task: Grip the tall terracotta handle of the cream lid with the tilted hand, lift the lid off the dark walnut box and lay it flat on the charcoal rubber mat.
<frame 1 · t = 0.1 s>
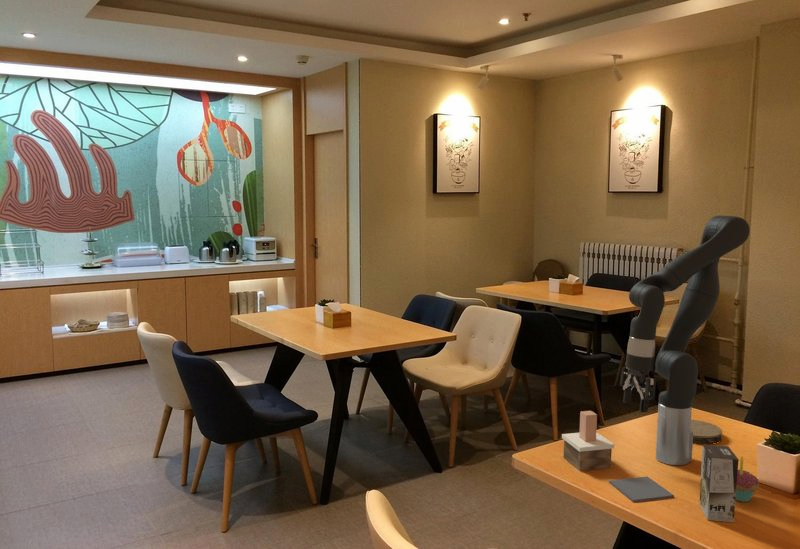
hand: (634, 407, 197), 17 cm above the table, tool pointing down, fingers open, 8 cm apart
box: (586, 462, 201), on the table
lid: (587, 446, 200), point 5 cm above the table, touching box
coffee box: (716, 513, 170), on the table
cupcake: (739, 498, 178), on the table
mat: (640, 489, 183), on the table
tin can: (694, 436, 223), on the table
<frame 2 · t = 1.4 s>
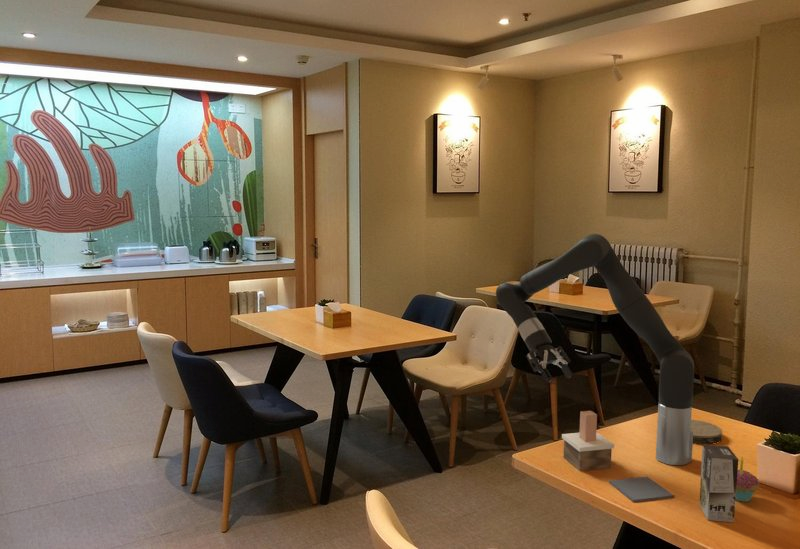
hand: (560, 379, 207), 23 cm above the table, tool tilted 45°, fingers open, 8 cm apart
nothing on the table moved.
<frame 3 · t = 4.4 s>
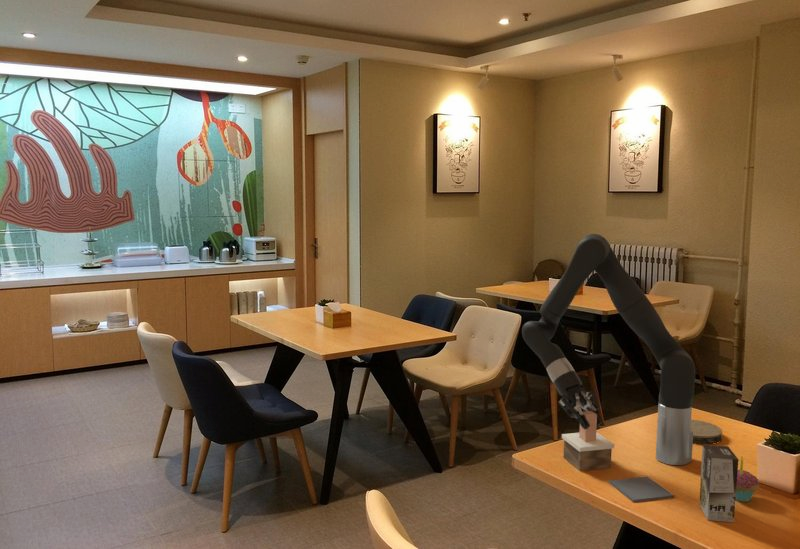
hand: (593, 426, 198), 12 cm above the table, tool tilted 45°, fingers closed on lid, 4 cm apart
lid: (587, 446, 200), point 5 cm above the table, touching box, gripper
everything else where it was.
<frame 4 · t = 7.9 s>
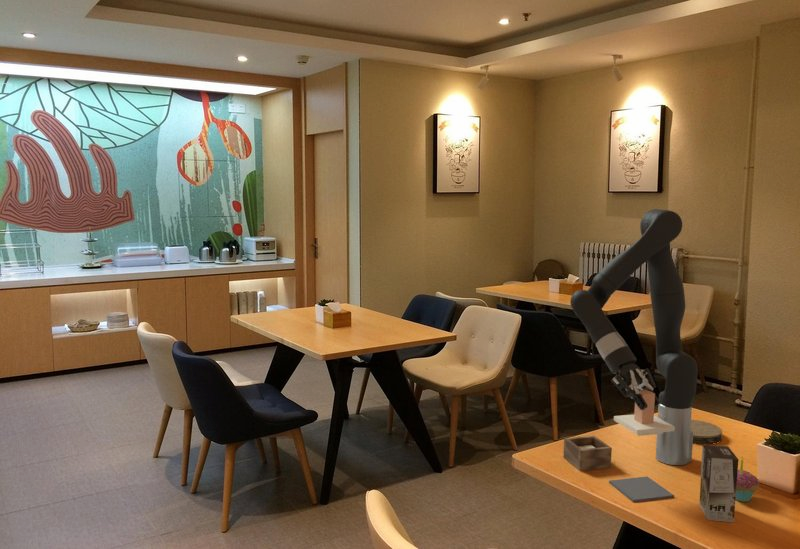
hand: (650, 406, 178), 24 cm above the table, tool tilted 45°, fingers closed on lid, 4 cm apart
lid: (643, 429, 180), point 17 cm above the table, touching gripper
everything else where it was.
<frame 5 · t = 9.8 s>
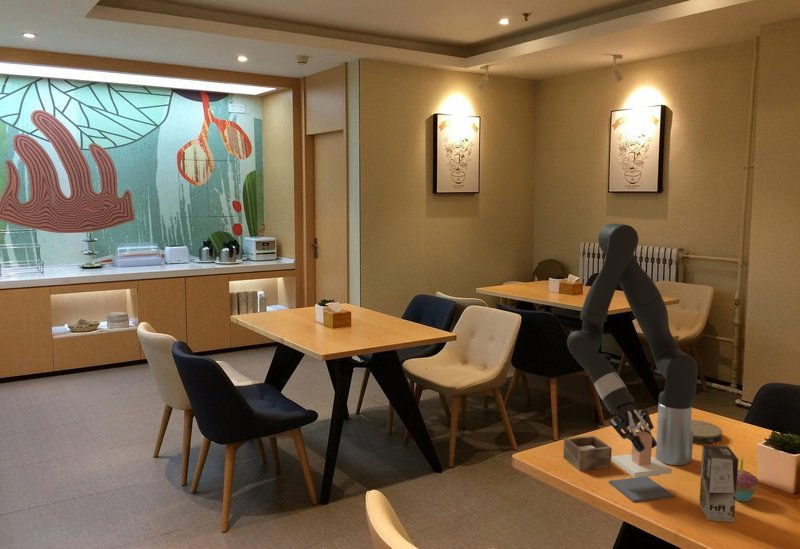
hand: (648, 448, 179), 12 cm above the table, tool tilted 45°, fingers closed on lid, 4 cm apart
lid: (640, 471, 182), point 5 cm above the table, touching gripper
everything else where it was.
when the fingers open (9 cm above the table, at t = 11.4 s): lid drops 1 cm, resting on mat.
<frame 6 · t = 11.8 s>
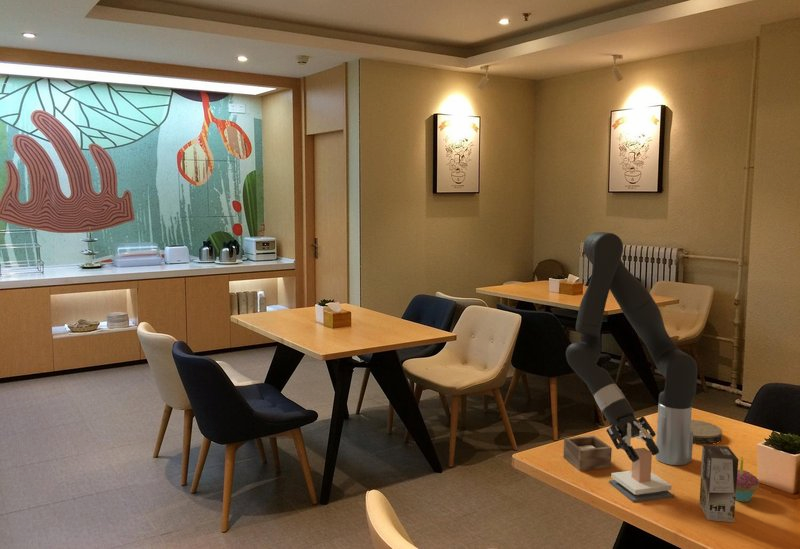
hand: (646, 457, 180), 10 cm above the table, tool tilted 45°, fingers open, 8 cm apart
lid: (640, 487, 183), point 1 cm above the table, touching mat
everything else where it was.
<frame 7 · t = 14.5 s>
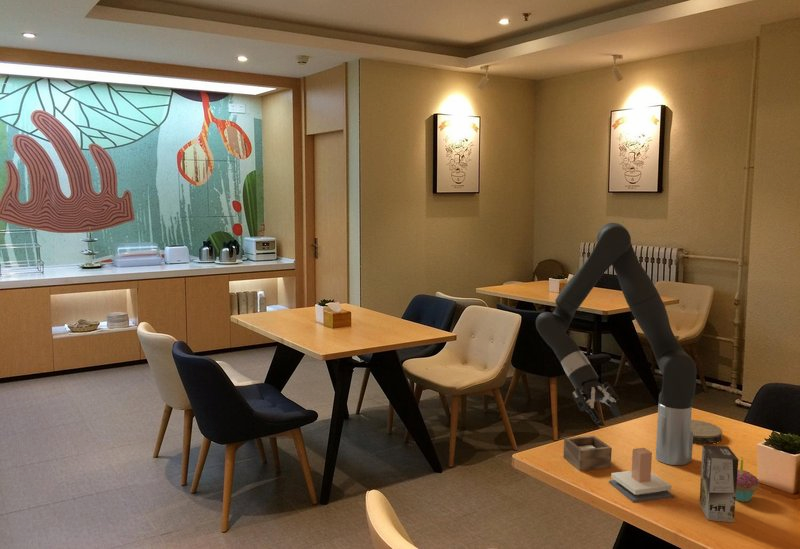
hand: (609, 419, 190), 16 cm above the table, tool tilted 45°, fingers open, 8 cm apart
nothing on the table moved.
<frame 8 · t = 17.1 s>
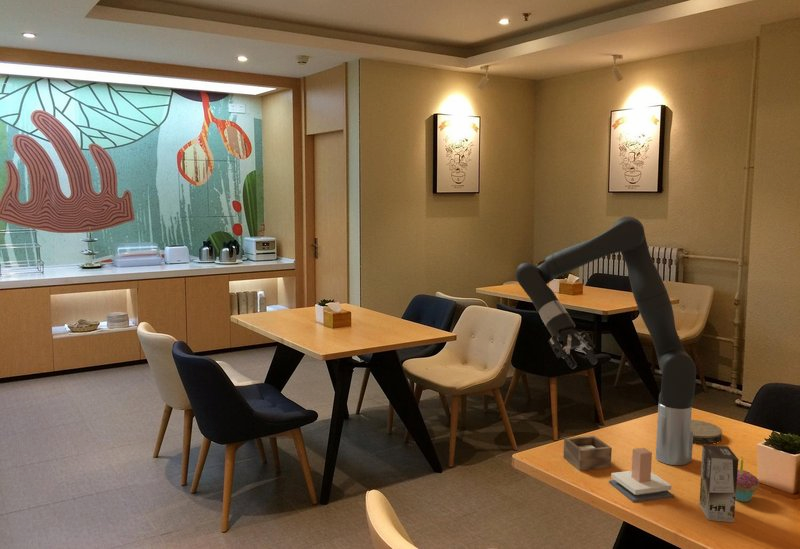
hand: (585, 365, 193), 31 cm above the table, tool tilted 45°, fingers open, 8 cm apart
nothing on the table moved.
at the end: lid inside the target area on the mat (0.1 cm from its centre), point 0.6 cm above the mat's base; lid tilted 0°; the gripper is holding nothing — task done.
